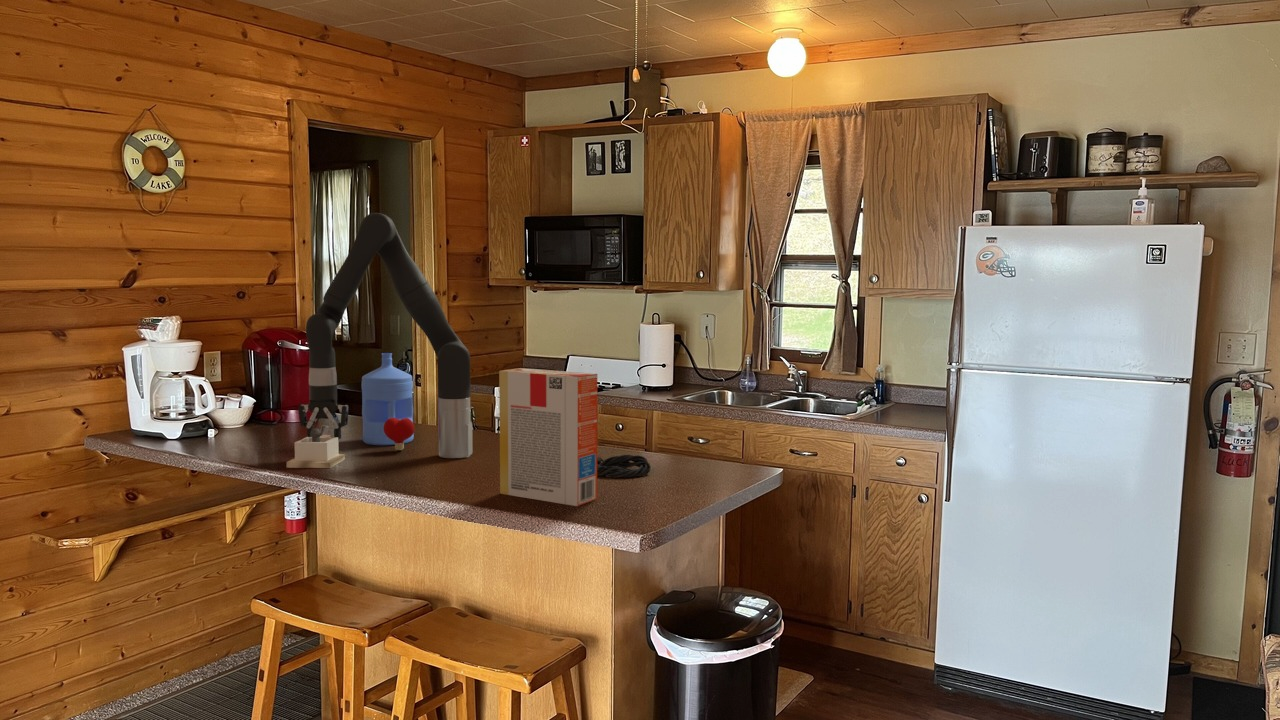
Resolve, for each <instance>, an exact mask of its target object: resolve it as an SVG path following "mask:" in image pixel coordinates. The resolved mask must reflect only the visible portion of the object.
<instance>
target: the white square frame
mask: <svg viewBox="0 0 1280 720" xmlns="http://www.w3.org/2000/svg"><path fill="white" fill-rule="evenodd" d="M339 449H340V448H339V441H338V437H334V436H331V434H327V435H322V436H320V442H312V437H308V436H306V437H304V438H301V439H300V440H297V441H295V442H294V458H295V461H328V460H330V459H332V458H333V457H335V456H337V455H339V454H340V453H339V451H340V450H339Z"/></svg>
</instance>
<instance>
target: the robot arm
mask: <svg viewBox="0 0 1280 720" xmlns="http://www.w3.org/2000/svg"><path fill="white" fill-rule="evenodd" d="M377 254H378V256H379V257H380V258H381V260H382V262H383V264H384V265H385V267H386V269H387V272H388V275H389V277H390V281H391V283H392V286H393V287H394V290H395V292H396V294H397V296H398V297H399V299H400V301H401V303H402V305H403V306H404V308H405V309H406V311H407V313H408V314H409V315H410V317H411V318H412V320H414V322H415V323H416V324H417V326H418V327H419V328H420V329H421V330H422V332H423V333H424V334H425V336H426V337H427V339H428V341H429V344H430V345H431V347H432V349H433V351H434V353H435V355H436V357H437V360H436V361H437V365H436V366H437V406H438V407H437V410H438V411H437V412H438V413H437V415H438V416H437V417H438V420H437V422H438V423H437V424H438V426H437V427H438V429H437V430H438V457H440V458H443V459H444V458H445V459H462V458H470V456H471V455H473V422H472V421H471V354H470V351H469V349H468V348H467V347H466V345H465V344H464V343H463V342H462V341H461V339H460V338H459V337H458V335H457V334H456V333H455V331H454V330H453V328H452V327H451V325H450V324H449V321H448V319H447V317H446V315H445V312H444V310H443V307H442V306H441V303H440V301H439V300H438V299H439V298H438V297H437V295H436V293H435V292H434V290H433V288H432V286H431V285H430V283H429V282H428V279H426V277H425V275H424V274H423V272H422V271H421V269H420V267H419V266H418V265H417V264H416V262H415V261H414V260H413V258H412V257H411V256H410V254H409V252H408V251H407V249H406V247H405V245H404V243H403V240H402V238H401V236H400V235H399V232H398V229H397V226H396V225H395V223H394V221H393V220H392V218H391V217H389V216H388V215H386V214H385V213H380V212H371V213H369V214H367V215H365V216H364V217H363V218H362V220H361V222H360V225H359V228H358V231H357V233H356V237H355V239H354V241H353V244H352V246H351V249H350V250H349V252H348V254H347V256H346V257H345V260H344V261H343V263H342V264H341V266H340V268H339V270H338V271H337V273H336V275H334V277H333V279H332V280H331V283H330V284H329V286H328V288H327V289H326V291H325V293H324V296H323V302H322V304H321V305H320V307H319V309H318V311H317V312H316V313H314V314H312V315H310V316H309V317H308V319H307V321H306V325H305V335H306V342H307V346H308V351H309V357H308V359H309V360H308V361H309V362H308V363H309V370H308V371H309V372H308V393H309V397H308V398H309V403H308V404H300V405H298V407H297V408H298V416H299V425H300V426H301V427H304V428H305V429H307V437H312V436H311V434H310V433H311V430H312V429H314V428H315V427H314V426H315V424H316V423H317V421H318V420H321V419H324V420H329V422H330V423H331V424H332V425H333V428H334V429H333V437H338V442H339V441H340V439H341V438H342V428H343V427H345V426H347V425H348V424H349V423H348V422H349V411H350V410H349V405H348V404H345V405H342V404H339V402H338V376H337V369H336V363H337V362H336V351H335V348H334V347H333V340H332V339H333V338H332V335H333V334H334V333H335V332H336V330H337V329H338V327H339V325H340V323H341V321H342V319H343V316H344V314H345V312H346V309H347V308H348V306H349V305H350V303H351V302H352V301H353V298H354V296H355V295H356V292H357V291H358V289H359V287H360V285H361V283H362V281H363V279H364V275H365V273H366V271H367V269H368V267H369V266H370V264H371V262H372V260H374V259H373V258H374V257H375V256H376V255H377ZM338 410H339V413H340V414H341V415H340V420H339V417H338V415H337V411H338ZM308 411H310V413H311V415H310V418H309V420H308V417H307V412H308Z"/></svg>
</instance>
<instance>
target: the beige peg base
mask: <svg viewBox="0 0 1280 720" xmlns="http://www.w3.org/2000/svg"><path fill="white" fill-rule="evenodd" d="M313 428H314V429H312V430H311V433H310V434H311V436H312V442H320V435H321V431H320V429H319V428H315V427H313ZM344 460H346V453H339V455H337V456H335V457H333V458H332V459H330V460H328V461H295V457H294V458H292V459H290V460H287V462H286V468H289V469H293V468H295V469H301V468H302V469H331V468H333V467H335V466H336V465H337V464H339V463H342V462H344Z"/></svg>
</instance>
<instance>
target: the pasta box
mask: <svg viewBox="0 0 1280 720" xmlns="http://www.w3.org/2000/svg"><path fill="white" fill-rule="evenodd" d="M498 373H499V375H498V377H499V383H498V384H499V387H498V389H499V394H498V395H499V494H501V495H507V496H513V497H518V498H519V497H520V498H526V499H531V500H538V501H544V502H549V503H550V502H551V503H556V504H561V505H567V506H574V507H579V506H582V505H585V504H587V503H591V502H593V501H595V500H598V476H597V457H598V373H591V372H578V371H567V370H566V371H564V370H552V369H551V370H550V369H539V368H538V369H537V368H523V367H520V368H519V367H518V368H510V369H504V370H499V372H498Z"/></svg>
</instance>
